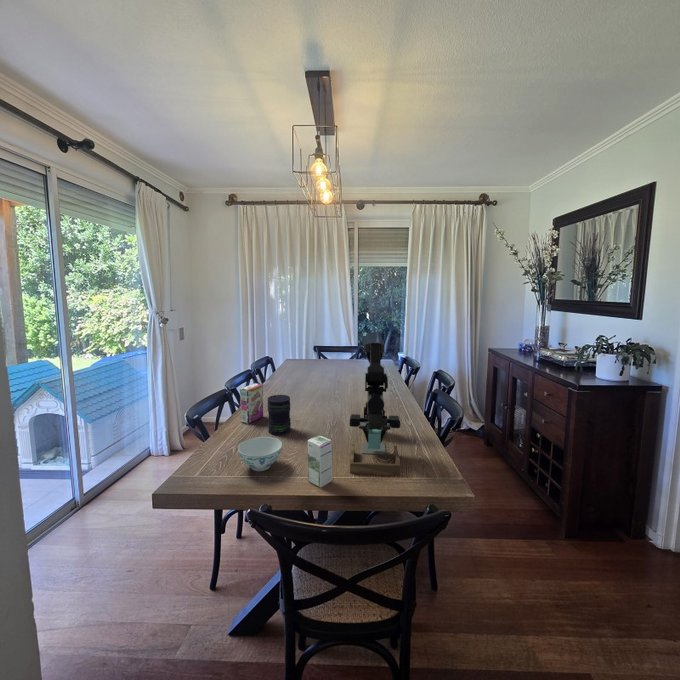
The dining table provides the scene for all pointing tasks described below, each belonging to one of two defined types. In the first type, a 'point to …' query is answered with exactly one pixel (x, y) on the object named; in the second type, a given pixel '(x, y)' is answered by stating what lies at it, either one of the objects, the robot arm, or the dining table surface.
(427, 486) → the dining table surface
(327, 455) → the syrup box
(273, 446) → the chinaware
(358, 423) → the robot arm
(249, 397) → the candy bar box
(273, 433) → the storage jar
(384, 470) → the walnut crate
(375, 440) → the teal block
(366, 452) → the grey rubber mat
